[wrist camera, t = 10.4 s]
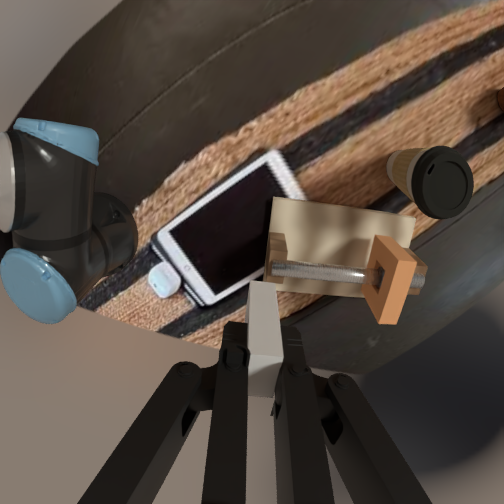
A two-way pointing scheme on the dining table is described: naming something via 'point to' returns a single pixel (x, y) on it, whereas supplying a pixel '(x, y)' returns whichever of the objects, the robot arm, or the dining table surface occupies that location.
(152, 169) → the dining table surface
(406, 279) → the orange square ring
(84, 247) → the robot arm
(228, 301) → the dining table surface
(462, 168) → the coffee cup
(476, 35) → the dining table surface
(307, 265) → the pipe
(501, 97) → the wooden figurine
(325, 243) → the wooden rod stand
